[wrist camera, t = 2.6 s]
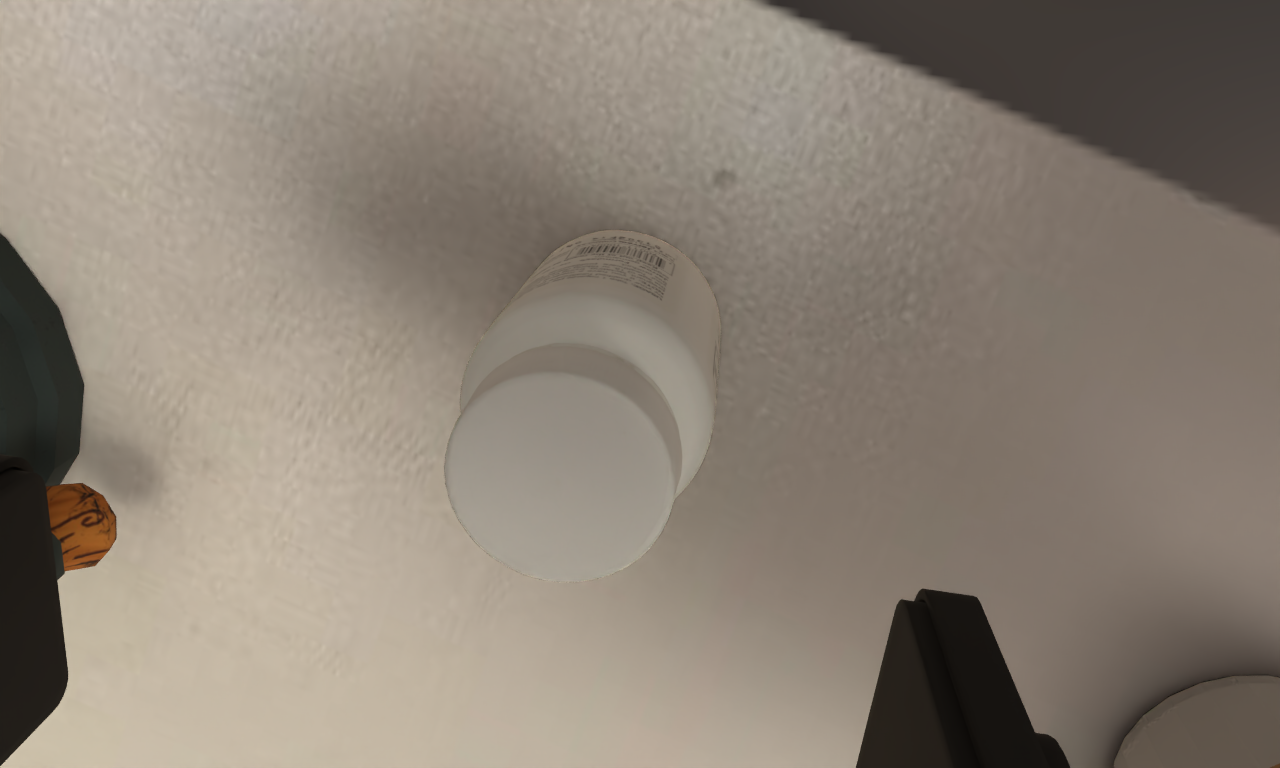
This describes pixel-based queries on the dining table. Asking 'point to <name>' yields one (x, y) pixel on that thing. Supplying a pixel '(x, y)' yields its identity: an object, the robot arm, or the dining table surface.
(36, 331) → the mug
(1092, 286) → the dining table surface
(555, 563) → the pill bottle
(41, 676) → the robot arm
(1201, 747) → the coffee cup
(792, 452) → the dining table surface
